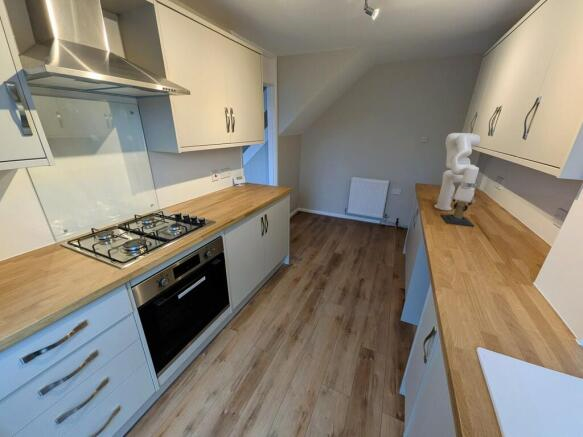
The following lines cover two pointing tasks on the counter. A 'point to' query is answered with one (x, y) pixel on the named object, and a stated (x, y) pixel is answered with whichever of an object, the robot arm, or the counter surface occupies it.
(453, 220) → the pad
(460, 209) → the olive green tapered piece
